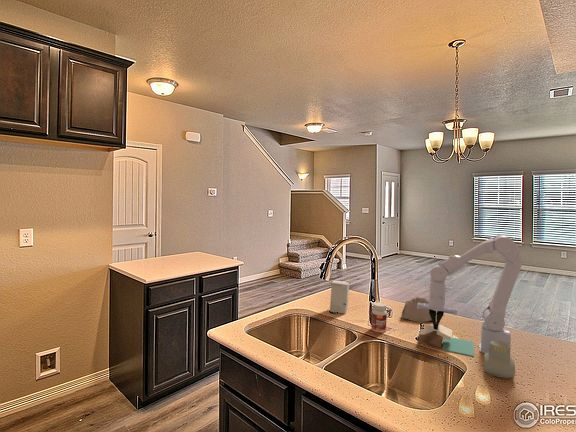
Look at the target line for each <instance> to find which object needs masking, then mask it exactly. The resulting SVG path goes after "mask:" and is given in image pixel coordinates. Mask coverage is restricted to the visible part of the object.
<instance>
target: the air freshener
mask: <svg viewBox="0 0 576 432" xmlns="http://www.w3.org/2000/svg"><path fill="white" fill-rule="evenodd" d="M483 354H484V355H483V369H484V371H486V372H487V373H489V374H490V375H492V376H494V377H497V378H502V379H507V378H508V379H510V378H513V377H515V375H516V364H515V359H513V358H512V357H511V344H510V345H509V344H507V343H505V342H502V341H495V340H494V341H491V342H490V344H489V352H488V353H483Z"/></svg>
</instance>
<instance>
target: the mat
mask: <svg viewBox="0 0 576 432" xmlns="http://www.w3.org/2000/svg"><path fill="white" fill-rule="evenodd" d="M474 349H475V348H474V341H471V340H468V339H462V338H456V337H452V336H451V339H450V341H449V340H447V339H445V338H443V341H442V346H441V350H442V351H444V352H450V353H453V354H459V355H462V356H463V355H464V356H469V357H472V358H474V356H475V355H474V354H475V353H474V352H475V350H474Z"/></svg>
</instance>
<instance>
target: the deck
mask: <svg viewBox="0 0 576 432" xmlns="http://www.w3.org/2000/svg"><path fill="white" fill-rule="evenodd" d="M422 325H424V327H425V328H424V329H421V328H420V331H419V334H418V345H421V344H423V345H422V346H425V345H426V346H425V347H431V348H436V349H440V350H442V347H443V341H444V338H443V337H441V336H439V335H437V331H438V330H435V329H434V327H433V325H428V324H422Z"/></svg>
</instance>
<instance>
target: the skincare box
mask: <svg viewBox="0 0 576 432" xmlns="http://www.w3.org/2000/svg"><path fill="white" fill-rule="evenodd" d="M330 291H331V292H330V303H329V312H331V313H337V312H338V313H340V314H344V315H345V314H346V313H347V312H348V310H349V309H348V307H349V295H350V293H349V291H350V282H347V281H343V280H333V281H332V282H331V290H330ZM338 313H337V314H338Z"/></svg>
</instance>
